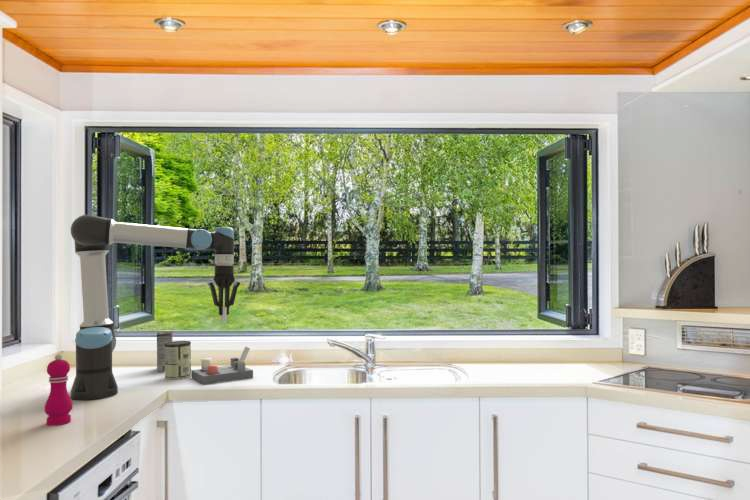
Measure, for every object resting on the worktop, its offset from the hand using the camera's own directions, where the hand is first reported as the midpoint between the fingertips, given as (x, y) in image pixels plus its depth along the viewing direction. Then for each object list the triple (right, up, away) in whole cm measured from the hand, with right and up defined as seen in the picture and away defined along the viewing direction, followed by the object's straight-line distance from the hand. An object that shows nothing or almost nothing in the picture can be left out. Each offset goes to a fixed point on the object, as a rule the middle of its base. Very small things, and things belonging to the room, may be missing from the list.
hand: (223, 323), depth 234 cm
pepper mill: (-32, -21, -64) cm, 75 cm away
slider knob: (+3, -19, +6) cm, 20 cm away
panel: (0, -22, -1) cm, 22 cm away
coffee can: (-19, -22, +2) cm, 30 cm away
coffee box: (-31, -23, +19) cm, 43 cm away
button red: (-2, -21, -7) cm, 22 cm away
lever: (+7, -17, -1) cm, 18 cm away
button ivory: (-7, -19, -1) cm, 21 cm away
